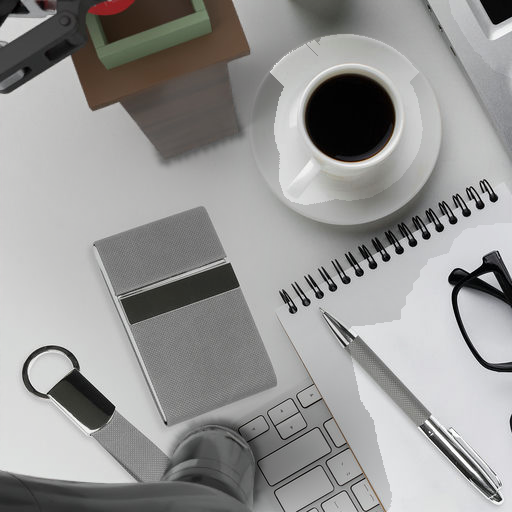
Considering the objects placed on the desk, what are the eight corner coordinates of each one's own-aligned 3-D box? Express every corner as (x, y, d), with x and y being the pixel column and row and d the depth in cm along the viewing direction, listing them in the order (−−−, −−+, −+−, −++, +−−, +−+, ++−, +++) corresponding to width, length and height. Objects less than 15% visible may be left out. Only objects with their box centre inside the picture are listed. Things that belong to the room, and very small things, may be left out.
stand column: (238, 132, 77) (224, 42, 48) (164, 159, 77) (105, 85, 48) (211, 60, 78) (181, -74, 49) (138, 86, 78) (63, -31, 49)
